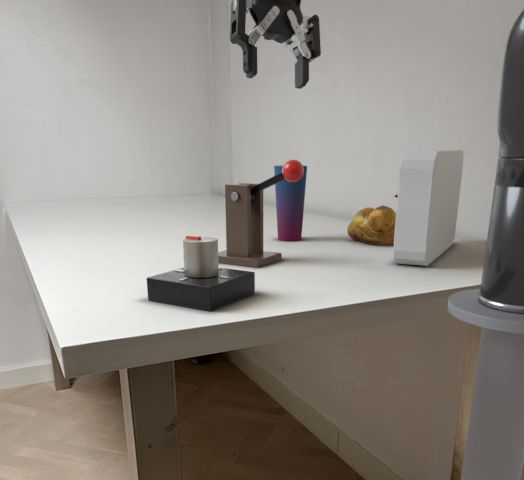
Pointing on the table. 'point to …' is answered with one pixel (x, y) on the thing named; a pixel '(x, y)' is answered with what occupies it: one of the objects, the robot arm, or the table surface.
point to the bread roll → (373, 226)
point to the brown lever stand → (245, 228)
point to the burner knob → (200, 256)
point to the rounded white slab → (426, 205)
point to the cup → (290, 206)
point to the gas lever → (281, 176)
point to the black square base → (201, 288)
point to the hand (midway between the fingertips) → (276, 81)
